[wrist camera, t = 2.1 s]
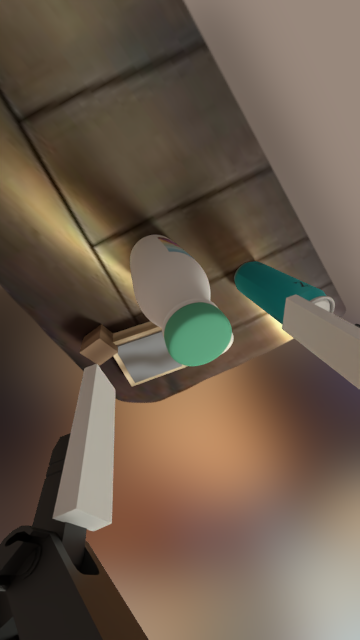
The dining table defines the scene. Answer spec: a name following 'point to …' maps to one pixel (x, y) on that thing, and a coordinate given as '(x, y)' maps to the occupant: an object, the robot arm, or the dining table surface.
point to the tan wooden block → (99, 345)
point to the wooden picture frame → (143, 353)
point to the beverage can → (276, 289)
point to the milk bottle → (178, 301)
